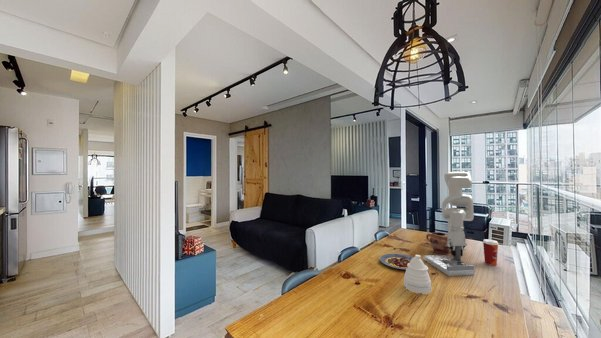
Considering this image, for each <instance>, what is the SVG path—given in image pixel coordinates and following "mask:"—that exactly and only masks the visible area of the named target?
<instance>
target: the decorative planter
mask: <svg viewBox="0 0 601 338" xmlns="http://www.w3.org/2000/svg"><path fill="white" fill-rule="evenodd" d="M425 236H426V237H425V238H426V240H427V241H428V242H429V243H430V245H431V246H432V249H433V251H434V252H435V253H436V254H440V255H447V254H449V253H450V248H449V247H448V246H446V245H447V243H448V242H447V240H448V233H447V234H446V233H443V232H439V231H435V232H432V233H427V234H426V235H425ZM429 237H430V238H429ZM450 246H451V245H450Z"/></svg>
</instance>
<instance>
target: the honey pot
mask: <svg viewBox="0 0 601 338" xmlns="http://www.w3.org/2000/svg"><path fill="white" fill-rule="evenodd" d="M412 257H413V258H412V260H411V261H410V263H408V264H407V269H405V272H404V273H405V274H404V275H403V287H404V286H405V287H406V288H407V289H408V290H410V291H413V292H416V293H422V294H426V293H430V292H431V293H432V280H431V277H430V274H429V272H428V271H429V267H428V266H427V264H425V263H424V260H422V259H421V258H422V257H421V255H420V254H415V256H412ZM405 287H404V288H405ZM407 289H406V290H407ZM408 290H407V291H408ZM410 291H409V292H410ZM431 293H430V294H431ZM426 295H427V294H426Z"/></svg>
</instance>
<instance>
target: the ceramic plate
mask: <svg viewBox="0 0 601 338" xmlns="http://www.w3.org/2000/svg"><path fill="white" fill-rule="evenodd" d="M393 257H395V258H393ZM413 257H414V256H412V255H408V254H403V253H393V252H392V253H385V254H382V255H381V256H379V260H380V262H381V263H382V264H384V265H386V266H388V267H391V268H394V269H397V270H398V269H399V270H406V269H407V268H401V267H407V264H408V263H410V261H411V260H412V258H413ZM388 258H391V259H388ZM397 258H400V259H397ZM387 259H388V263H387V262H386V260H387ZM408 260H410V261H408ZM390 263H392V264H393V265H394V264H395V265H396V266H399V267H396V266H392V265H389V264H390Z"/></svg>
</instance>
